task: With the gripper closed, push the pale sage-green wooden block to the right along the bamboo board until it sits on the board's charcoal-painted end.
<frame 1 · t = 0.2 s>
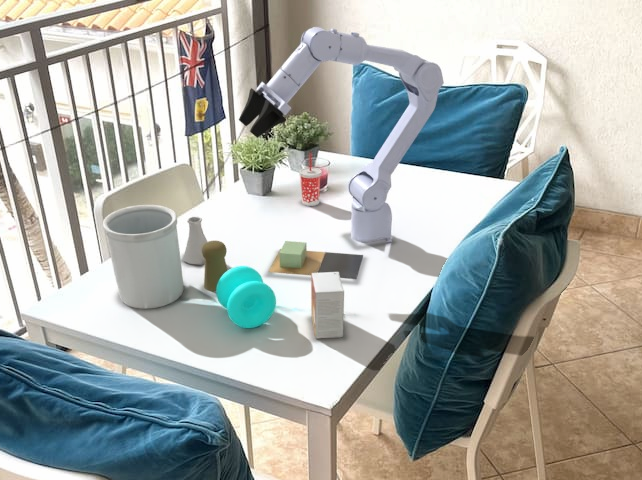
hand: (247, 128, 148), 31 cm above the table, tool tilted 45°, fingers open, 7 cm apart
beverage cup: (310, 203, 193), on the table
turquoise spool: (247, 318, 142), on the table
board: (316, 267, 161), on the table
sage block: (293, 261, 161), point 1 cm above the table, touching board
utensil holder: (151, 294, 151), on the table
cork: (217, 289, 153), on the table
flask: (198, 259, 165), on the table
small box: (326, 328, 139), on the table
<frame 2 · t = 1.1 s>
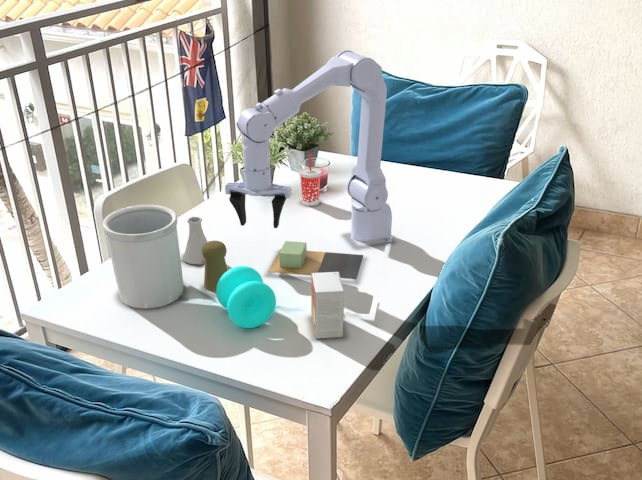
hand: (259, 225, 158), 10 cm above the table, tool pointing down, fingers open, 7 cm apart
nothing on the table moved.
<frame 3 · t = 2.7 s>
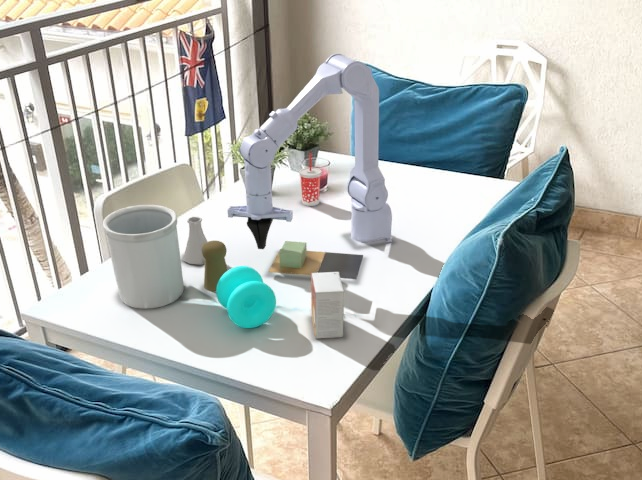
hand: (261, 247, 161), 4 cm above the table, tool pointing down, fingers closed
nothing on the table moved.
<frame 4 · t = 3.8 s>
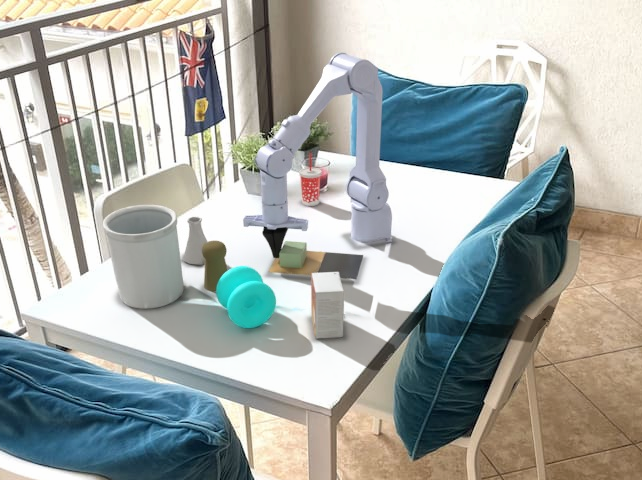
hand: (276, 256, 161), 2 cm above the table, tool pointing down, fingers closed
sage block: (293, 261, 161), point 1 cm above the table, touching board, gripper
everything else where it was.
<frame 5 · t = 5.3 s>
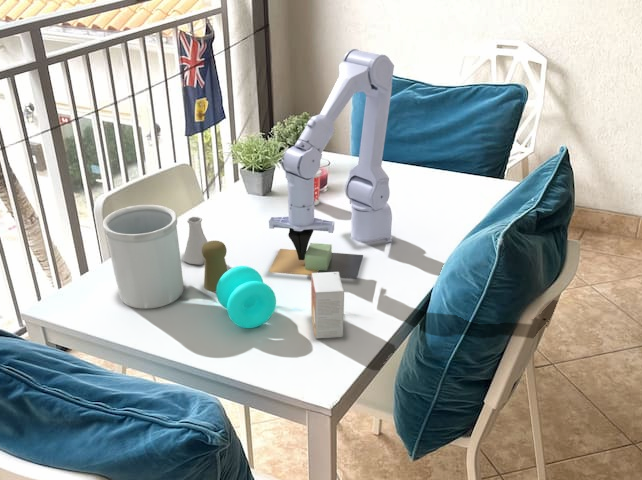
hand: (302, 258, 160), 2 cm above the table, tool pointing down, fingers closed
sage block: (318, 263, 160), point 1 cm above the table, touching board, gripper
everything else where it was.
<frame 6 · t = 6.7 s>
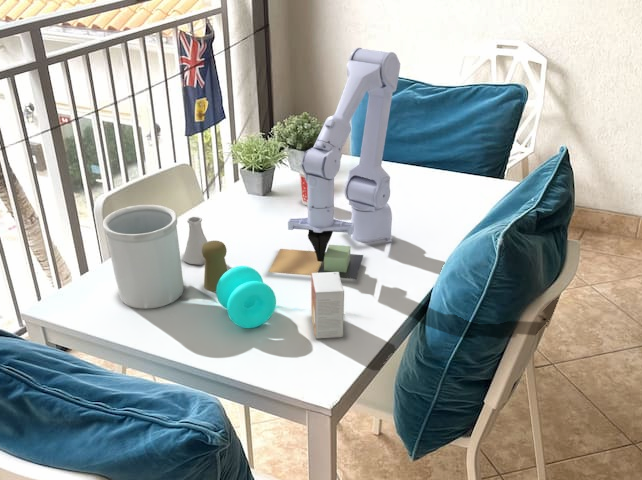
hand: (320, 259, 159), 2 cm above the table, tool pointing down, fingers closed
sage block: (337, 265, 159), point 1 cm above the table, touching board, gripper
everything else where it was.
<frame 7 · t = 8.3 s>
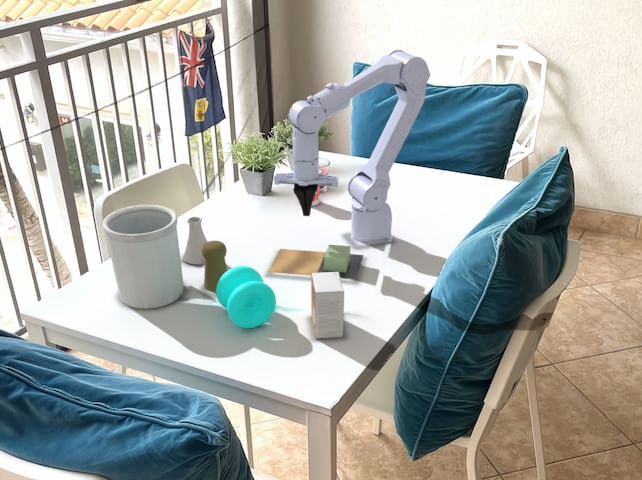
hand: (306, 214, 163), 9 cm above the table, tool pointing down, fingers closed
sage block: (337, 265, 159), point 1 cm above the table, touching board
everything else where it was.
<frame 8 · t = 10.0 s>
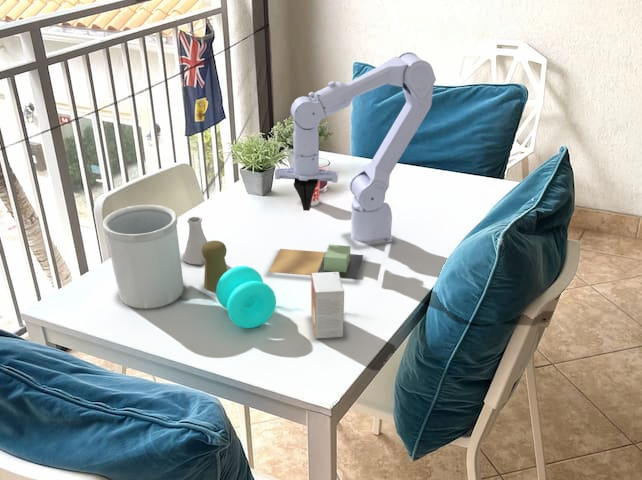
hand: (306, 209, 165), 9 cm above the table, tool pointing down, fingers closed
nothing on the table moved.
at the end: sage block 0.3 cm from the target spot, point 1.0 cm above the table; sage block moved 10.3 cm from its start; sage block tilted 0° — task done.
